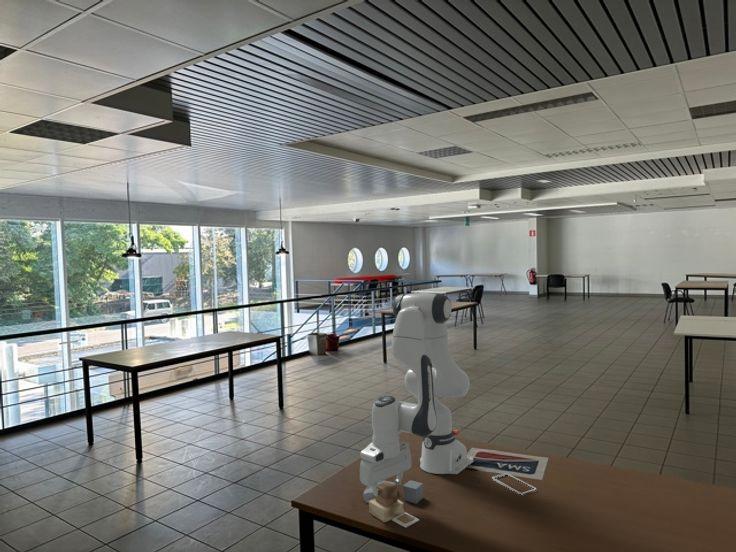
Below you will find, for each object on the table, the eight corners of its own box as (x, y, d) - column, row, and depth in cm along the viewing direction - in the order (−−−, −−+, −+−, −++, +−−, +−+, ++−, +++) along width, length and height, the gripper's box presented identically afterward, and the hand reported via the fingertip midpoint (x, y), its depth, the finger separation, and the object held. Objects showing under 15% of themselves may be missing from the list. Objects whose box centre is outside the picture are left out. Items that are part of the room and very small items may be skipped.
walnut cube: (387, 496, 161) (387, 481, 161) (397, 501, 157) (397, 486, 157) (375, 501, 158) (375, 485, 158) (385, 506, 154) (385, 491, 154)
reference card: (405, 513, 157) (405, 511, 157) (419, 520, 152) (419, 518, 152) (392, 520, 153) (391, 518, 153) (405, 527, 148) (405, 525, 148)
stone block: (362, 508, 164) (390, 505, 162) (359, 494, 165) (387, 491, 162) (371, 493, 176) (398, 490, 173) (369, 480, 176) (395, 477, 174)
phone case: (491, 480, 179) (521, 497, 166) (491, 476, 179) (521, 493, 166) (506, 476, 183) (537, 492, 169) (506, 472, 183) (537, 488, 169)
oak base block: (388, 505, 163) (388, 493, 163) (403, 515, 156) (403, 502, 156) (369, 513, 158) (368, 501, 158) (384, 523, 152) (383, 510, 151)
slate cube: (410, 494, 170) (410, 480, 170) (423, 497, 167) (422, 483, 167) (403, 500, 166) (403, 485, 165) (416, 503, 163) (416, 489, 163)
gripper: (401, 437, 167) (403, 477, 168) (356, 453, 154) (357, 497, 154) (415, 441, 162) (416, 482, 163) (369, 459, 149) (370, 504, 149)
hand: (387, 490), depth 158 cm, fingers open, 8 cm apart
